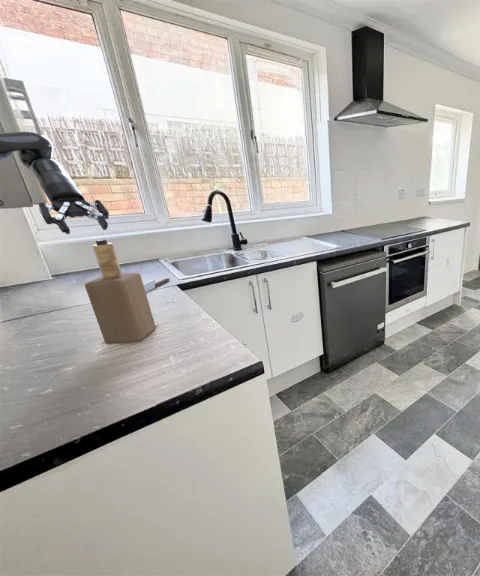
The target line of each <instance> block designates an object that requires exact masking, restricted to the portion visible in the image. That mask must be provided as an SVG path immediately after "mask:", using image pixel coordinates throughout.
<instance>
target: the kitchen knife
mask: <svg viewBox="0 0 480 576" xmlns="http://www.w3.org/2000/svg"><path fill="white" fill-rule="evenodd" d="M169 282H170V278H164V279H161V280H160V281H156V280H155V279H151V280H150V281H148V282H146V283H143V285H144V288H145V292H146V293H147V292H148V291H151V290H153V289H155V288H158V287H160V286H162V285H164V284H166V283H169Z"/></svg>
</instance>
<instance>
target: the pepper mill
mask: <svg viewBox="0 0 480 576" xmlns="http://www.w3.org/2000/svg"><path fill="white" fill-rule="evenodd" d="M92 249H93V252H94V255H95V258H96V261H97V264H98V267H99V270H100V273H101V277H102V276H103V279H115V278H119V277H121V276H122V274H123V273H122V270H121V267H120V264H119V259H118V257H117V253H116V251H115V248H114V244H113V243H112V242H108V240H107V239H105V238H104V239H96V240H95V243H94V244H92Z"/></svg>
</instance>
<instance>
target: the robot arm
mask: <svg viewBox="0 0 480 576" xmlns="http://www.w3.org/2000/svg"><path fill="white" fill-rule="evenodd" d="M53 149H54V146H53V143H52V141H51V140H50V139H49V138H48V137H46V136H45V135H42V134H39V133H37V132H33V131H12V132H0V161H6V160H8V159H9V158H10V156H11V154H13V153H14V152H17V156H18V158H19V161H20V162H21V164H22V165H23V166H25V167H26V169H27V170H29V171H30V172H31V173H33V175H34V177H35V178H36V180H37V181H38V183H39V186H40V189H42V191H43V193H44V194H45V195H46V197H47V199H48V200H49V202H50V203H51V204H46V203H44V202H39V203H38V209H39V212H40V215H41V216H42V218H43V220H44V222H45V223H46V225H52V224H54V225H57V227H58V228H59V230H60V231H61V232H62V233H63V234H64V233H65V234H66V235H70V234H71V229H70V227H69V225H68V224H67V223H66V220H67V218H76V217H77V218H78V217H79V218H83V217H86V218H88V219H93V220H95V221H97V222H98V225H99V226H100V227H101V229H102V230H103V231H107V230H108V227H109V224H108V221H107V220H109V215H110V212H109V211H108V210H107V208H106V207H105V206H104V204H103V203H102V202H101V200H99V199H95V200H94V202H92V201H91V202H89V201H87V200H86V198H85V197H84V196H83V194H82V193H81V191H80V189H79V188H78V186H77V184H76V183H75V182H74V181H73V179H72V178H71V177H70V176H69V175H68V174H67V171H66V170H65V168H63V166H62V165H61V163H59V162H58V161H56V160H55V159H53ZM51 210H53V211H55V212H57V214H56V215H55V216H52V215H51Z"/></svg>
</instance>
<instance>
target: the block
mask: <svg viewBox="0 0 480 576" xmlns="http://www.w3.org/2000/svg"><path fill="white" fill-rule="evenodd" d="M84 288H85V290H86V293H87V296H88V299H89V302H90V304H91V307H92V310H93V313H94V315H95V319H96V322H97V324H98V327H99V329H100V332H101V335H102V338H103V341H104V343H105V344H106V345H113V344H114V345H115V344H116V345H117V344H127V343H138V342H141V341H142V340H144V339H145V338H146V337H147V336H148V335H149V334H151V333H152V332H153V331H154V330H156V323H155V319H154V316H153V313H152V308H151V306H150V303H149V298H148V296H147V292H145V288H144V282H143V279H142V275H141V273H139V272H126V273H125V272H124V273H122V276H121V277H119V278H115V279H103V276H102V275H101V276H100V277H98V278H94V279H93V280H90V281H88V282H86V283H85V284H84Z"/></svg>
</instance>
